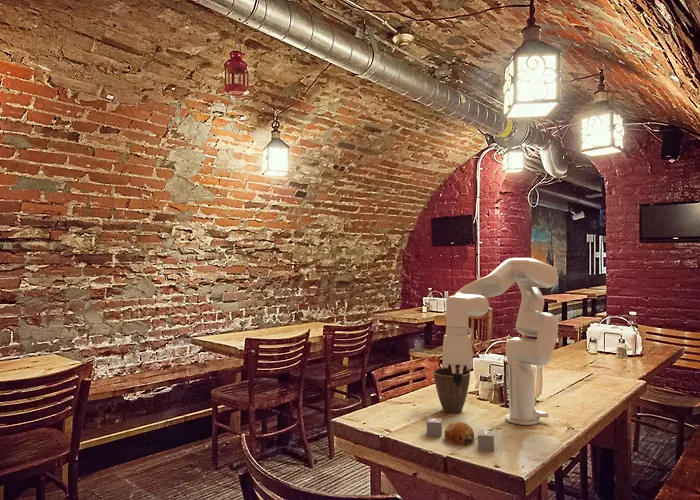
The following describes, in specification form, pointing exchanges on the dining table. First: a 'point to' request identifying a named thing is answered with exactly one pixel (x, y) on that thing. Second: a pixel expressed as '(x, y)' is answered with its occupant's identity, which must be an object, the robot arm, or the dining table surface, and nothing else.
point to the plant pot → (451, 389)
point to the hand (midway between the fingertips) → (457, 384)
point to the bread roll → (459, 433)
